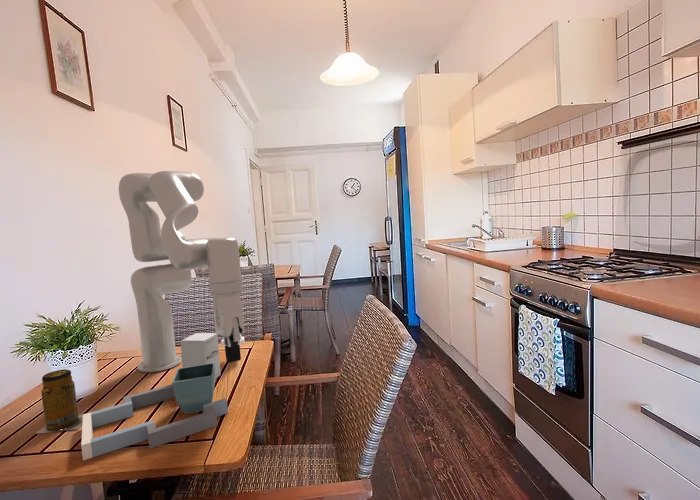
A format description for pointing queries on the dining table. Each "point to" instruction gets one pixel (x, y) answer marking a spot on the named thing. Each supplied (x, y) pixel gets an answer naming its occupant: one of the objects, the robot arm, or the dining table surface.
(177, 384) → the flower pot
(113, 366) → the dining table surface
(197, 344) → the supplement box
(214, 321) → the robot arm
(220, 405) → the stepped grey frame
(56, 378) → the condiment
